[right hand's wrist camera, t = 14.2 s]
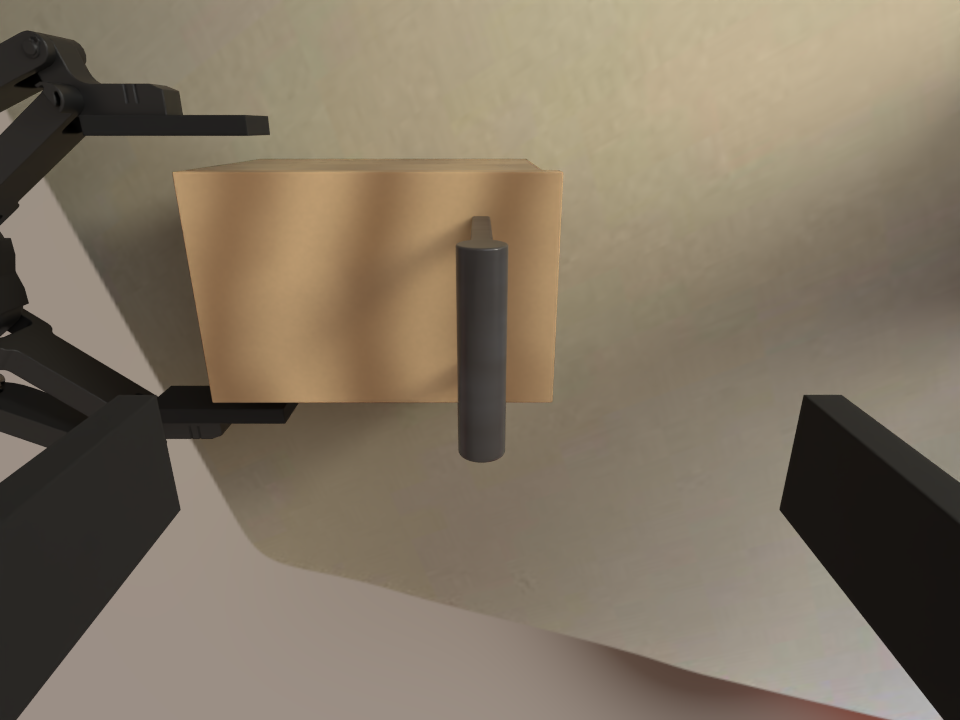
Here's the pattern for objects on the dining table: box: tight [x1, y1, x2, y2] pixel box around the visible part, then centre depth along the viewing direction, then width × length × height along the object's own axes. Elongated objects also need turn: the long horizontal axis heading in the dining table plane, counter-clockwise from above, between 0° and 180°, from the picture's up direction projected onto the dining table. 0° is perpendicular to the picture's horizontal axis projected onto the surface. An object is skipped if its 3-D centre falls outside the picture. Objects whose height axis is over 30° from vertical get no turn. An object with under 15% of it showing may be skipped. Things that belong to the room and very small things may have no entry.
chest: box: [185, 159, 543, 171], centre depth 29 cm, size 14×10×9 cm
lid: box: [172, 171, 563, 462], centre depth 21 cm, size 15×10×8 cm, turn 90°
